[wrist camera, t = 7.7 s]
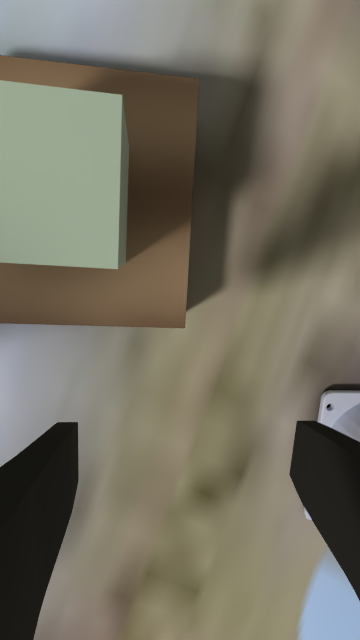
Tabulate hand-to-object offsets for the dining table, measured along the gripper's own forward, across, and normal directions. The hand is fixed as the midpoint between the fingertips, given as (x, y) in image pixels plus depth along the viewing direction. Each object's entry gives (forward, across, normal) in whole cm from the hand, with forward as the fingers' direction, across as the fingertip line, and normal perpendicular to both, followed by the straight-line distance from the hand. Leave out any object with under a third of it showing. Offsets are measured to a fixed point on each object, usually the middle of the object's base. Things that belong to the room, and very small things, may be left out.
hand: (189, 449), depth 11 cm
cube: (+6, +5, -8) cm, 11 cm away
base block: (+9, +5, -8) cm, 13 cm away
